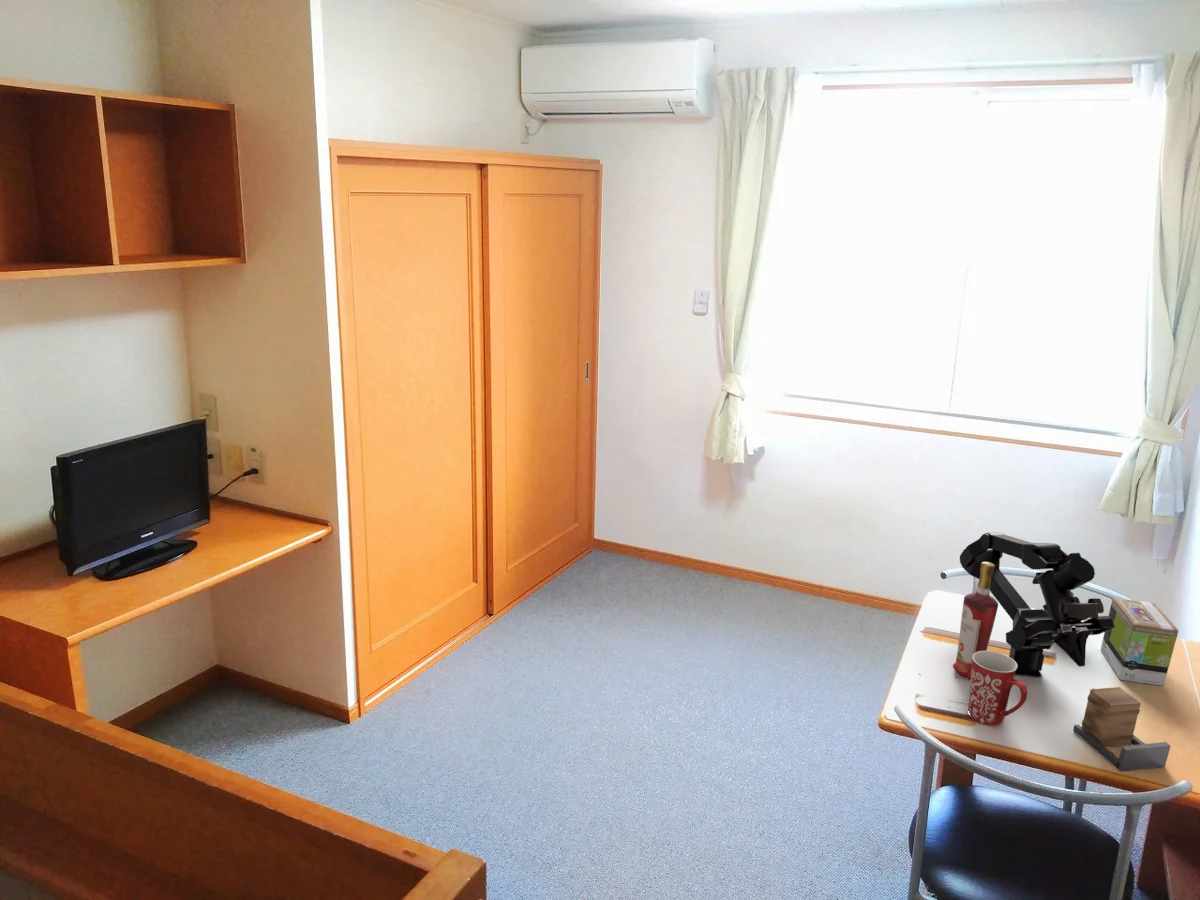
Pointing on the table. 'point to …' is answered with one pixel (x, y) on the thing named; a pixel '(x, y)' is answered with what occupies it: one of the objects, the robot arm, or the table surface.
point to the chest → (1111, 716)
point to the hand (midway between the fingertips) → (1082, 666)
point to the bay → (1130, 752)
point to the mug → (992, 687)
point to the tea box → (1139, 641)
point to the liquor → (976, 622)
